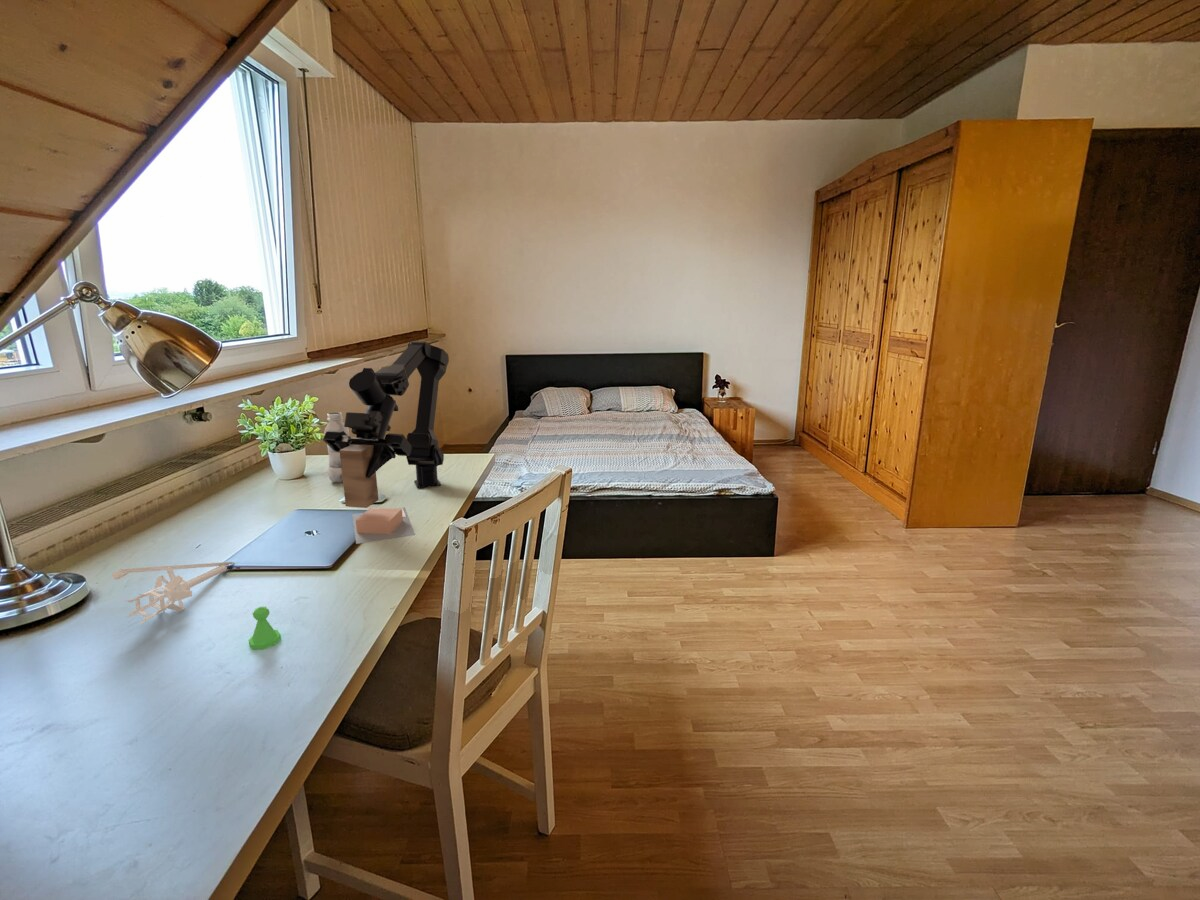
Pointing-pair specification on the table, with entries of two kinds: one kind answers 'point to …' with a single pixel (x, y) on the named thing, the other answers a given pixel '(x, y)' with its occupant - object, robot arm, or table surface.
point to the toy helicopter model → (170, 586)
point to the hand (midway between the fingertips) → (356, 476)
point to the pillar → (358, 476)
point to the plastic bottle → (334, 456)
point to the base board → (400, 531)
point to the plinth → (379, 521)
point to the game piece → (263, 631)
